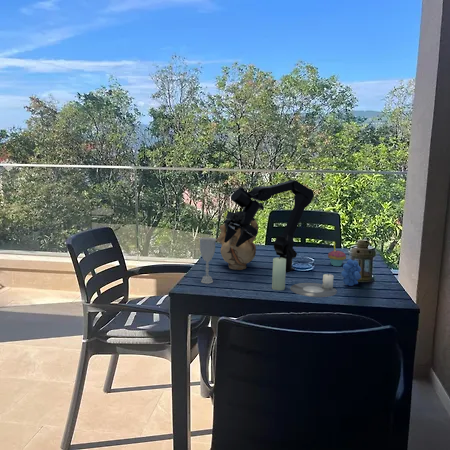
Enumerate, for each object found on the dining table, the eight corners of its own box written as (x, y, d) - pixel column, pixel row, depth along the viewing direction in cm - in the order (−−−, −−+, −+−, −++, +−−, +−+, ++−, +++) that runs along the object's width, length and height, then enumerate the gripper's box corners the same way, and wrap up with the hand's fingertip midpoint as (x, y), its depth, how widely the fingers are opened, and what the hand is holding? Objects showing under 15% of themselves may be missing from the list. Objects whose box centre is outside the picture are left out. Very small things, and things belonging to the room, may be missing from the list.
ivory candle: (325, 285, 183) (326, 271, 182) (334, 287, 181) (335, 273, 180) (320, 287, 180) (321, 273, 179) (329, 289, 178) (330, 275, 177)
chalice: (218, 280, 191) (218, 238, 188) (212, 284, 185) (213, 241, 182) (201, 278, 194) (202, 236, 191) (195, 282, 187) (196, 239, 184)
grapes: (350, 292, 178) (352, 263, 176) (336, 288, 184) (338, 259, 182) (368, 287, 186) (370, 259, 183) (354, 283, 191) (356, 255, 189)
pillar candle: (276, 288, 182) (277, 254, 180) (287, 291, 179) (288, 256, 176) (269, 291, 178) (270, 257, 176) (280, 294, 175) (281, 259, 173)
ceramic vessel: (251, 262, 223) (253, 211, 219) (263, 272, 205) (265, 217, 200) (215, 263, 219) (215, 212, 215) (223, 274, 200) (224, 218, 196)
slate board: (304, 282, 190) (304, 279, 190) (344, 292, 179) (345, 288, 179) (281, 293, 176) (281, 289, 176) (323, 303, 165) (323, 300, 165)
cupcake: (326, 266, 218) (327, 241, 216) (328, 262, 226) (330, 238, 224) (344, 268, 215) (346, 243, 213) (346, 264, 223) (348, 240, 221)
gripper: (224, 200, 199) (206, 231, 197) (248, 205, 183) (228, 239, 181) (241, 213, 205) (224, 243, 202) (266, 219, 189) (247, 252, 187)
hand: (230, 244), depth 193 cm, fingers open, 9 cm apart
